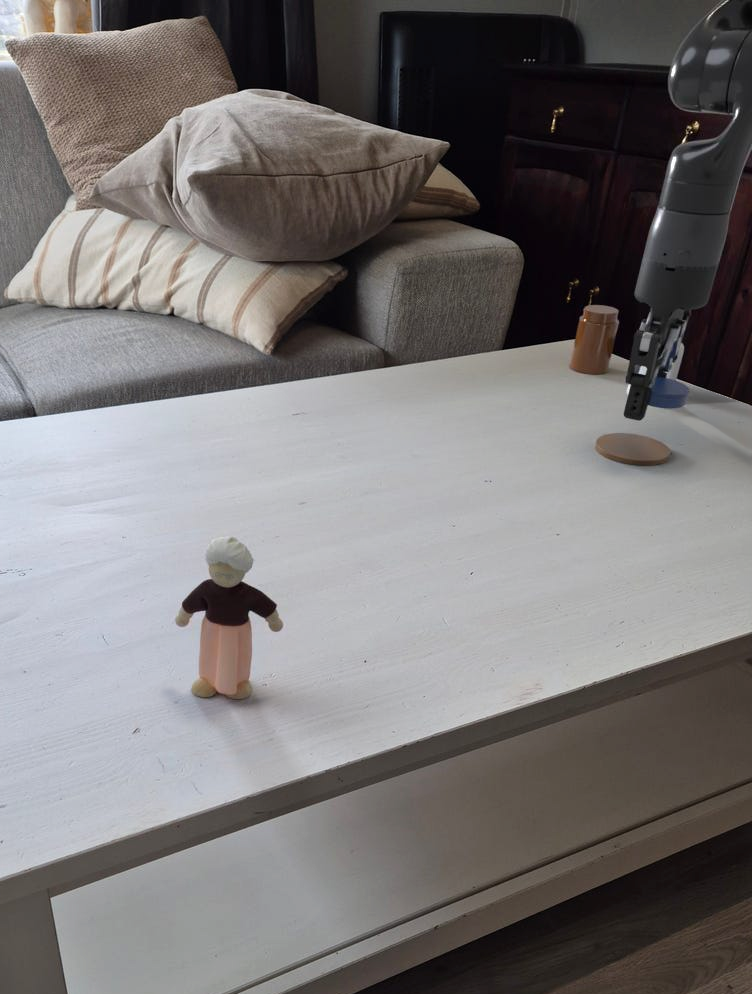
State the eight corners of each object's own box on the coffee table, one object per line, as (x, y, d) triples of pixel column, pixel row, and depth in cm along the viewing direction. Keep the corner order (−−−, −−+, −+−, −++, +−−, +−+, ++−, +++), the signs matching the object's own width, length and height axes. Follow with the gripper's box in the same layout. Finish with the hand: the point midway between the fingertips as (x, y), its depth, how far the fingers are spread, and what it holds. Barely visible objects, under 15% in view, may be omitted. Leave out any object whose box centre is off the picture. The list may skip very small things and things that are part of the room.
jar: (586, 360, 137) (598, 302, 133) (615, 370, 134) (629, 311, 129) (561, 366, 135) (573, 307, 130) (591, 376, 131) (604, 316, 126)
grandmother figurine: (178, 706, 67) (171, 553, 60) (177, 674, 70) (171, 526, 63) (282, 701, 68) (288, 550, 61) (277, 671, 71) (282, 523, 64)
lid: (683, 412, 101) (687, 398, 100) (628, 402, 103) (632, 388, 102) (686, 396, 106) (690, 382, 105) (634, 386, 107) (638, 372, 107)
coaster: (645, 435, 113) (647, 431, 113) (683, 463, 106) (685, 458, 106) (582, 439, 111) (583, 434, 111) (616, 467, 105) (617, 462, 104)
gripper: (663, 240, 103) (626, 387, 113) (625, 261, 93) (588, 421, 103) (733, 249, 100) (689, 400, 109) (702, 273, 90) (657, 437, 99)
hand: (641, 410), depth 106 cm, fingers closed on lid, 5 cm apart
